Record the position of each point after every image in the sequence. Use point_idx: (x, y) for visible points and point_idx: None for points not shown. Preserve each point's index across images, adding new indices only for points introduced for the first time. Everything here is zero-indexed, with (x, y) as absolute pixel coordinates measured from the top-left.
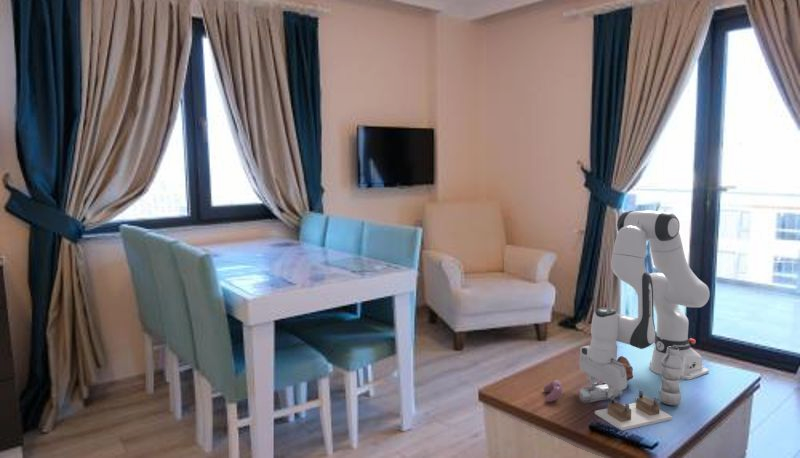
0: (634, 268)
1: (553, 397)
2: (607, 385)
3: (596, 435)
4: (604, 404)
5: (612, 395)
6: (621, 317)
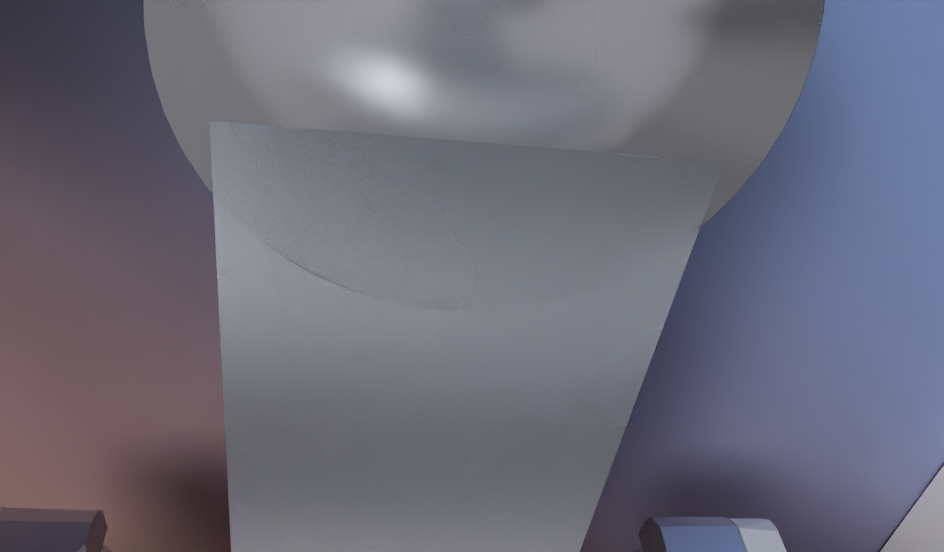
0: None
1: None
2: (367, 514)
3: None
4: None
5: (777, 533)
6: None
